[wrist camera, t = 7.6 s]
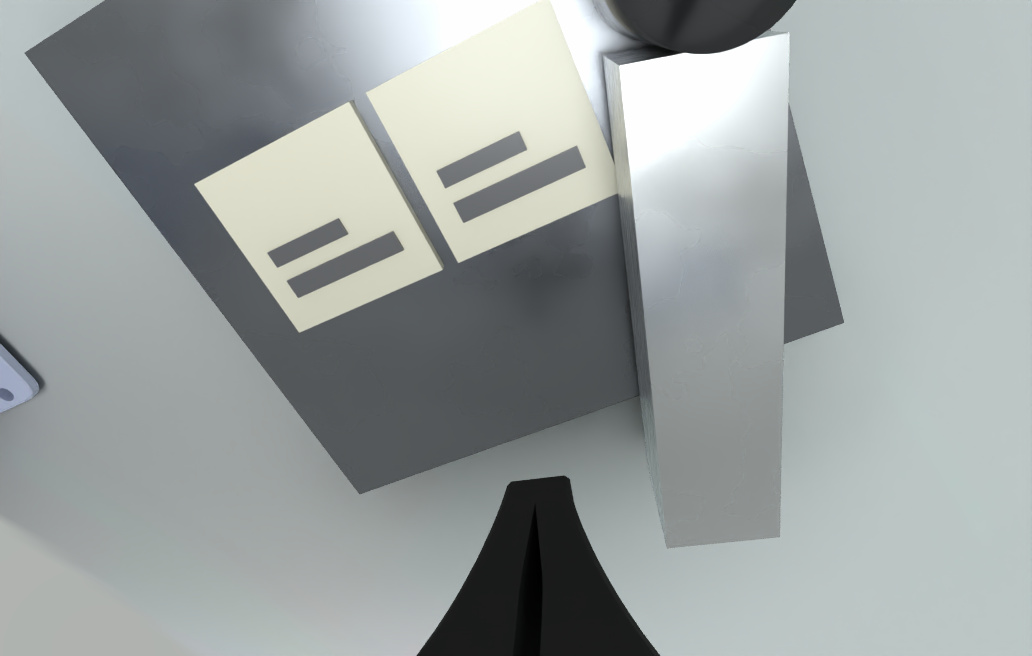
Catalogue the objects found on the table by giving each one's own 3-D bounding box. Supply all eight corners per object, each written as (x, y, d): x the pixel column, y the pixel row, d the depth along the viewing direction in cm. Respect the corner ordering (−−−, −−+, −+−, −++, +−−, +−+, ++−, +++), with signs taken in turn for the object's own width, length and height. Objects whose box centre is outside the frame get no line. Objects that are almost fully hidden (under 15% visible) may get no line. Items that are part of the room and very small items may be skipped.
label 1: (302, 328, 19) (298, 334, 18) (199, 181, 17) (192, 185, 16) (444, 266, 17) (442, 271, 17) (352, 100, 15) (347, 102, 15)
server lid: (365, 479, 22) (359, 494, 22) (47, 51, 16) (24, 53, 15) (832, 310, 18) (844, 322, 18) (663, -345, 12) (670, -367, 11)
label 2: (459, 259, 17) (457, 264, 17) (368, 91, 15) (364, 93, 15) (623, 187, 16) (624, 191, 16) (548, -5, 14) (548, -5, 14)
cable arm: (578, -103, 13) (598, -167, 9) (727, -138, 13) (832, -224, 8) (641, 452, 20) (671, 582, 16) (739, 441, 20) (799, 570, 15)
